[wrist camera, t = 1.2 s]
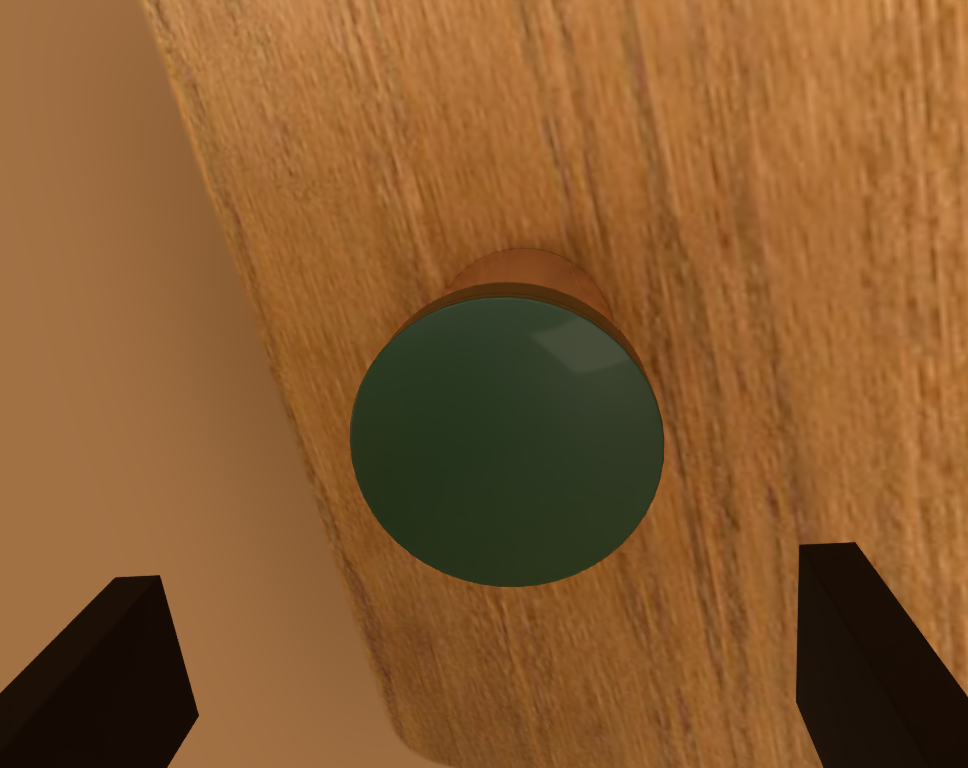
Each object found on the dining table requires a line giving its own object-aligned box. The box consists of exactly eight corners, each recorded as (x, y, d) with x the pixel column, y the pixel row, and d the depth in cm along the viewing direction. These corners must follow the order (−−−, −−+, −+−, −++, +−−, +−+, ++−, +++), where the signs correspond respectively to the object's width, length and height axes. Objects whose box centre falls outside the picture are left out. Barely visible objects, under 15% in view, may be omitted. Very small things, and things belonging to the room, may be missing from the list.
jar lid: (386, 557, 22) (371, 593, 20) (342, 296, 19) (321, 312, 18) (660, 544, 21) (670, 581, 19) (649, 267, 18) (658, 281, 17)
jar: (444, 429, 30) (392, 568, 20) (421, 257, 28) (350, 323, 18) (619, 417, 29) (649, 556, 19) (608, 239, 27) (637, 297, 17)
